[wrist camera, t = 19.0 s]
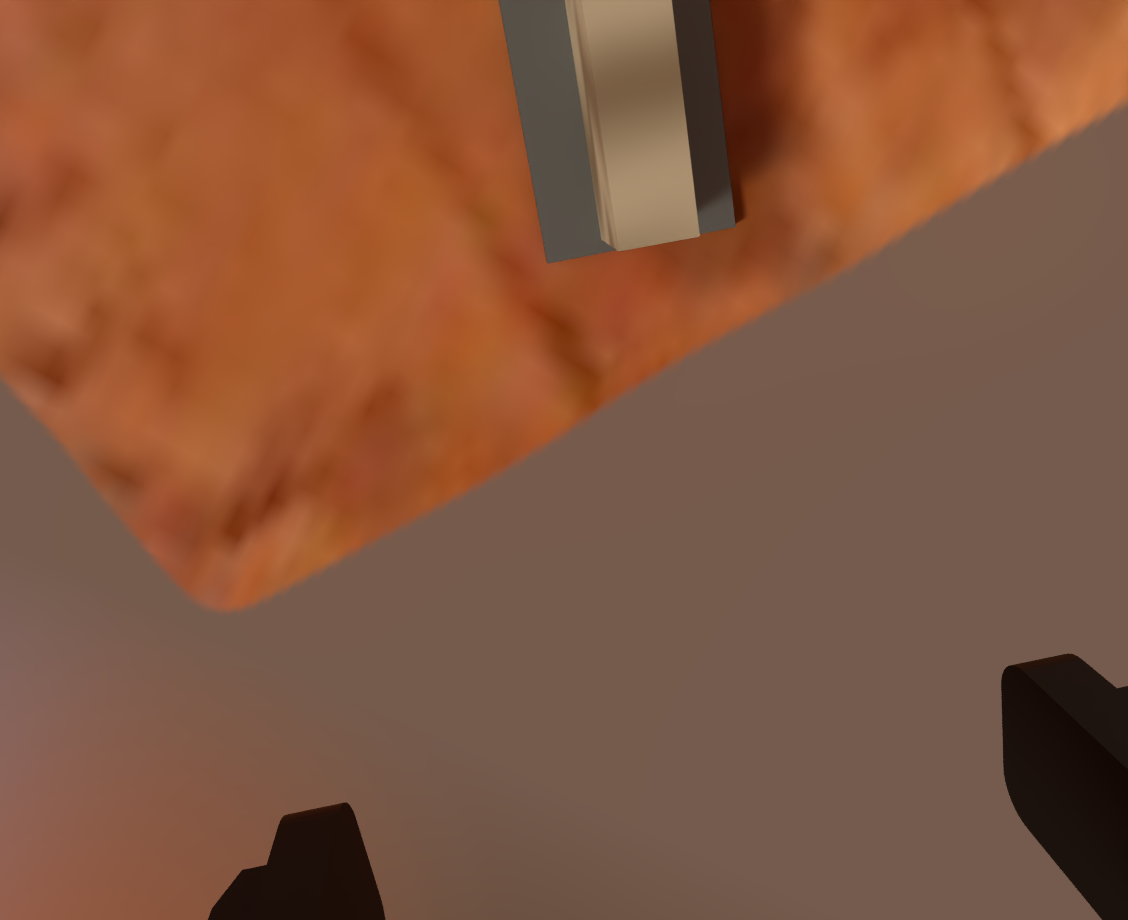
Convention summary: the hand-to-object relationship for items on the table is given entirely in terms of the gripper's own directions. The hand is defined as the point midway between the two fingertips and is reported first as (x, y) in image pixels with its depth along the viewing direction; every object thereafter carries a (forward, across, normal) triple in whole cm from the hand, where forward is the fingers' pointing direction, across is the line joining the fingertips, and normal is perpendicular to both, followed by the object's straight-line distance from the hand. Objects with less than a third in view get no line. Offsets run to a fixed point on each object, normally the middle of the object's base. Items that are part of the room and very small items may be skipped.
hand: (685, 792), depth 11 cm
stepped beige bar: (+30, -5, -11) cm, 32 cm away
